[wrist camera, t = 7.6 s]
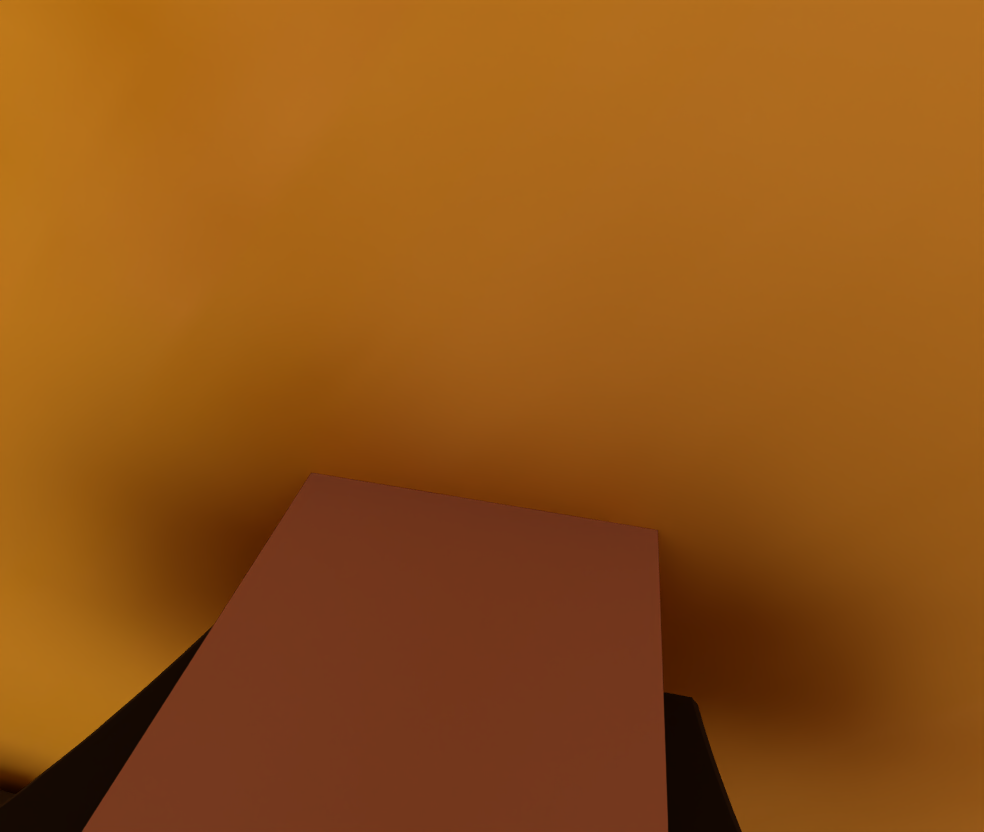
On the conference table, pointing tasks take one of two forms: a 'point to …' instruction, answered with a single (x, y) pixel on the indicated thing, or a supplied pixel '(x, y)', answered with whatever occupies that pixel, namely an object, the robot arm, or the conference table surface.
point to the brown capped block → (417, 678)
